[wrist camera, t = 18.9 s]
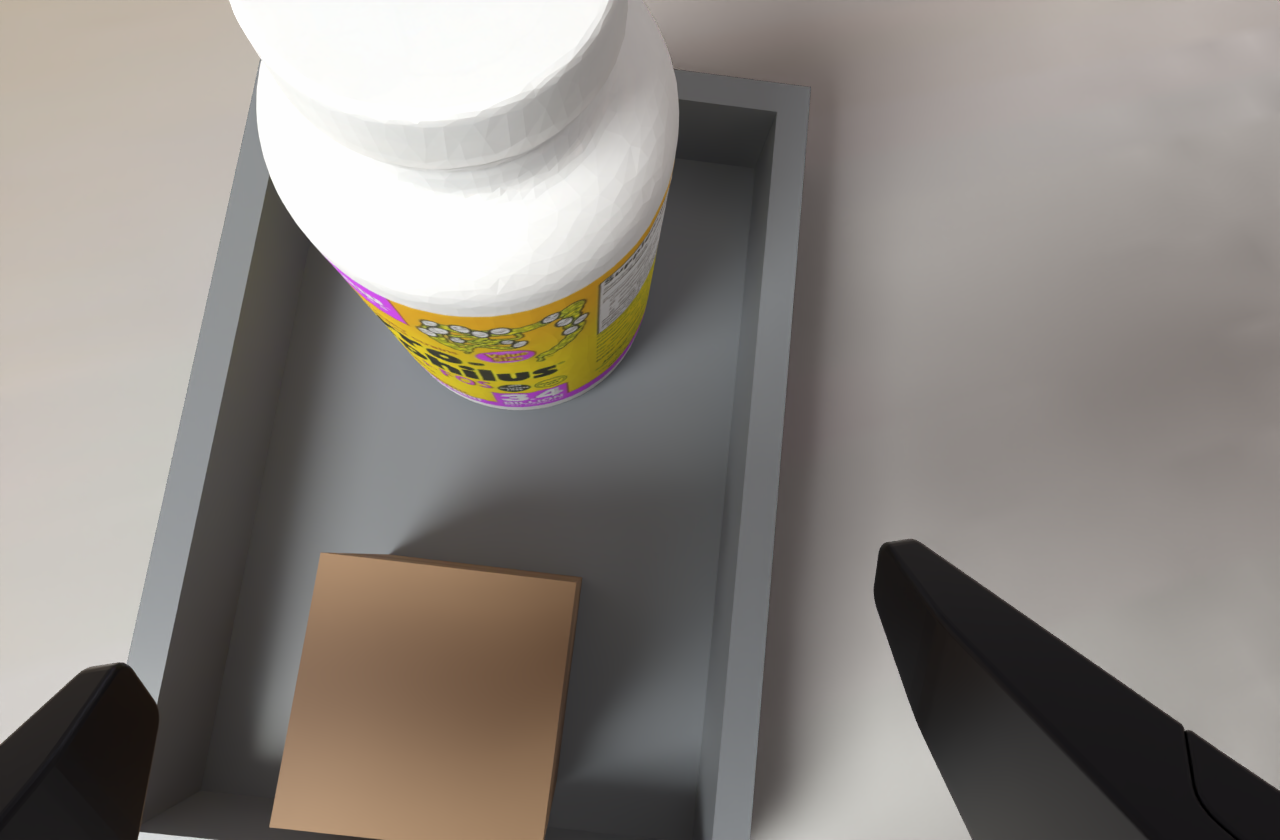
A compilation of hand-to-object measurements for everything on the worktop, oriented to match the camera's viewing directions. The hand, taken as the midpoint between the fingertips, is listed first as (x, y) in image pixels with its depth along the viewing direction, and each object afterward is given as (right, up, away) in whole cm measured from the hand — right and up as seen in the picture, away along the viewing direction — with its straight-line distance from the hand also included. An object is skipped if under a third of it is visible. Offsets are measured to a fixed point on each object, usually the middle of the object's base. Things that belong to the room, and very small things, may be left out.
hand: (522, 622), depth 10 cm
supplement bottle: (-2, +6, +12) cm, 14 cm away
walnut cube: (-3, -4, +10) cm, 11 cm away
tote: (-2, +1, +12) cm, 12 cm away
